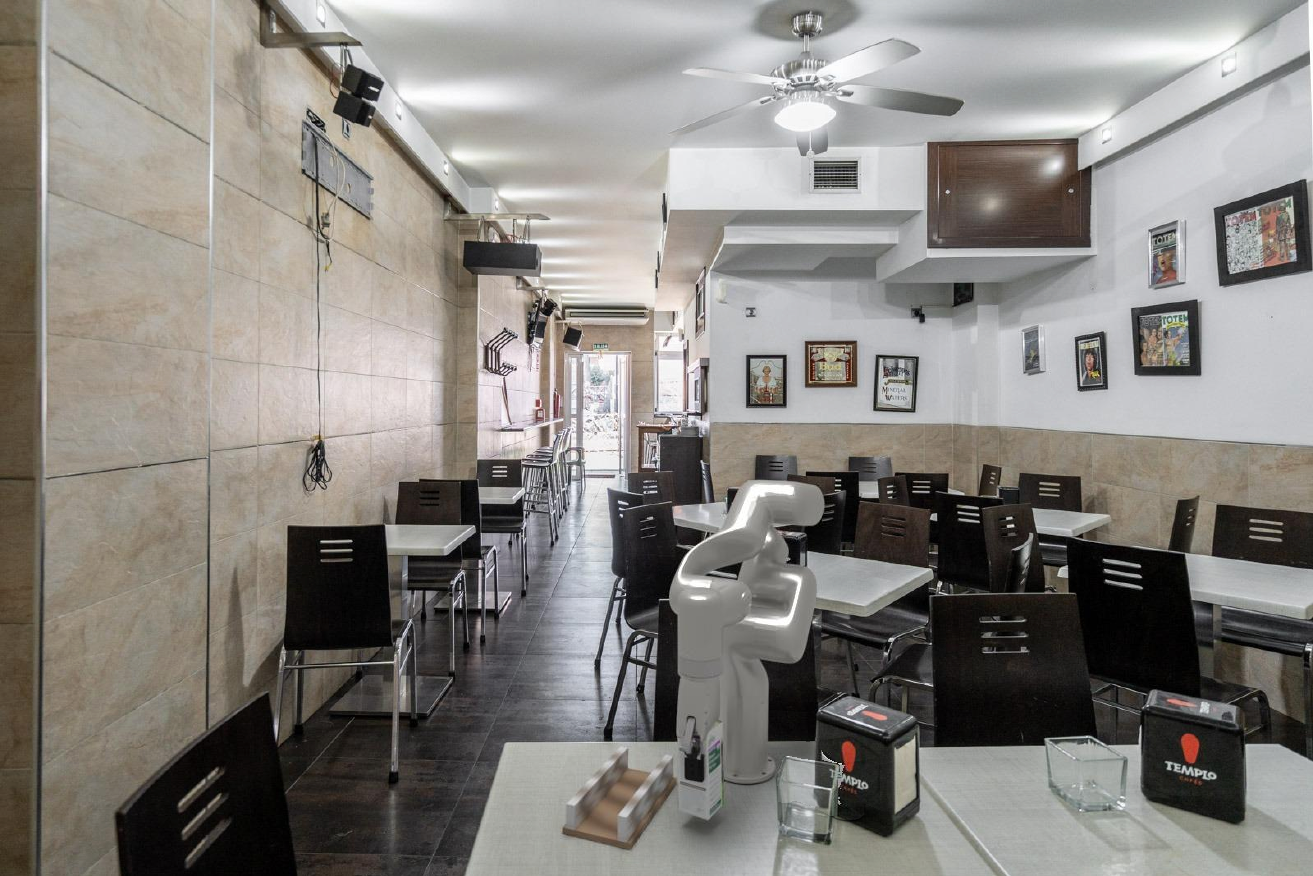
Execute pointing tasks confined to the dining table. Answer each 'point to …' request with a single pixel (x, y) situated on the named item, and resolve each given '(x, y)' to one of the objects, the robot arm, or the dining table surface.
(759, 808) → the dining table surface
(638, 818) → the track
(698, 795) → the syrup box
